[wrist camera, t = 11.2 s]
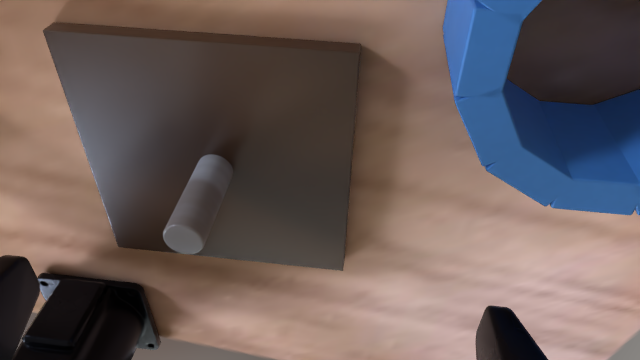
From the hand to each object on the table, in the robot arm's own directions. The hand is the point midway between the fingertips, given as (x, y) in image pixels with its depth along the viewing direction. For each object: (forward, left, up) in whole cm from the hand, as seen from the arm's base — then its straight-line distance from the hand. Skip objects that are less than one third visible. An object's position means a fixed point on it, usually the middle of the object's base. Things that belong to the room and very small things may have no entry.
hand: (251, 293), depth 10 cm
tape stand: (-6, +4, -12) cm, 14 cm away
